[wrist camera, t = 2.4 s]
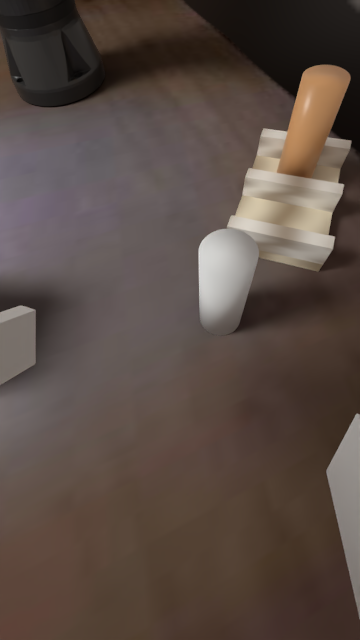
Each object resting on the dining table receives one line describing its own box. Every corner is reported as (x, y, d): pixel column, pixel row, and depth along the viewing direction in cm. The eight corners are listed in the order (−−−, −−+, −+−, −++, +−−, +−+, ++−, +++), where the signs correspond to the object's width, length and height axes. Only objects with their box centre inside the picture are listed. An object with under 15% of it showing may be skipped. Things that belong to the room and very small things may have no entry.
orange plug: (273, 167, 35) (298, 66, 26) (306, 165, 35) (344, 62, 26) (278, 190, 33) (307, 91, 24) (313, 188, 33) (356, 87, 24)
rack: (224, 249, 32) (227, 226, 28) (258, 156, 38) (263, 128, 34) (318, 271, 29) (333, 248, 26) (337, 169, 36) (351, 140, 32)
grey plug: (198, 299, 29) (197, 230, 20) (238, 298, 29) (255, 227, 20) (200, 336, 27) (199, 278, 18) (242, 334, 27) (262, 275, 18)
